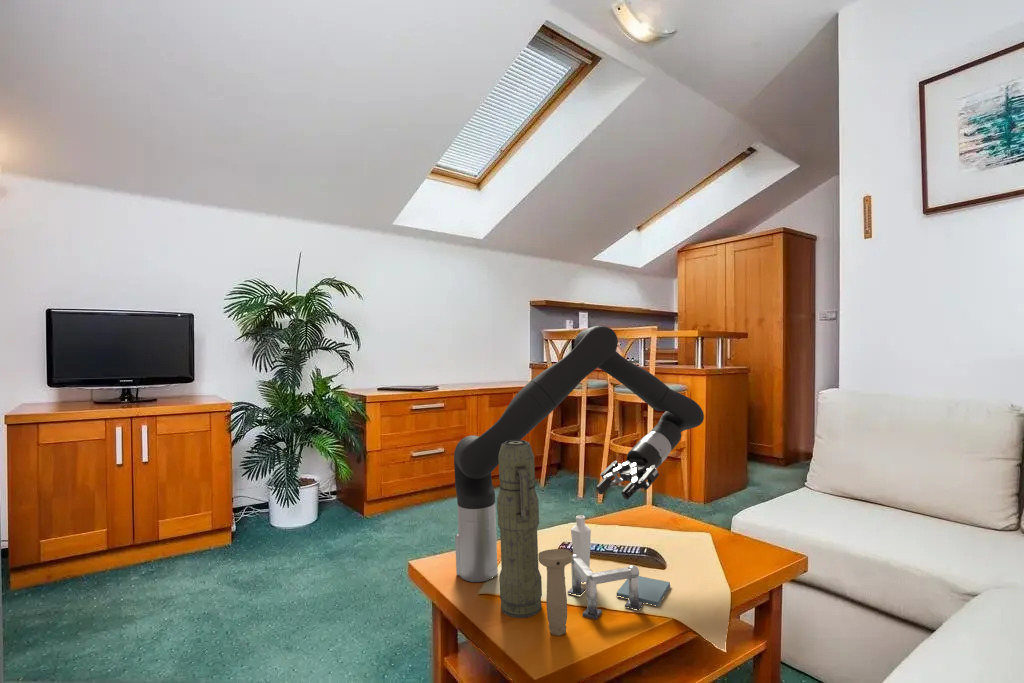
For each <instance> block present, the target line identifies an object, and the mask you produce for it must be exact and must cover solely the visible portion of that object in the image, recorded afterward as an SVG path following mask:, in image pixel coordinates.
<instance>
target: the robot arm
mask: <svg viewBox="0 0 1024 683" xmlns="http://www.w3.org/2000/svg"><path fill="white" fill-rule="evenodd" d="M618 342H619V340H618V335H617V334H616V332H615V330H613V329H612V328H611V327H608V326H604V325H595V326H591V327H587V328H585V329H583V330H581V331H580V332H579V333H578V334H577V335H576V337H575V339H574V348H572V349H571V351H570V352H569V353H568V354H566V355H565V356H564V357H563V358H561V359H560V360H559V361H557V362H555V363H554V364H552V365H551V366H549V367H548V368H546V369H545V370H543V371H541V372H540V373H539V374H537V375H536V376H535V377H534V378H532V379H531V380H530V381H529V382H528V383H527V384H526V385H525V386H523V387H522V388H521V389H520V390H519V391H518V392H517V393H516V394H515V395H514V397H513V398H512V399H511V401H510V403H509V404H508V405H507V407H506V409H505V410H504V412H503V413H502V415H501V416H500V418H499V419H498V420H497V421H496V422H495V423H494V424H493V425H492V426H490V427H489V428H488V429H487V430H485V432H483V433H482V434H481V435H480V436H479V435H468V436H464V437H463V438H462V439H460V440H459V442H458V443H457V444H456V446H455V449H454V454H453V464H454V465H453V466H454V468H453V469H454V486H455V488H454V489H455V492H456V500H457V501H456V502H457V526H458V527H457V528H458V533H457V534H456V535H455V537H454V538H455V539H454V541H455V568H456V570H455V573H456V575H457V576H459V577H460V578H461V579H462V580H464V581H466V582H471V583H480V582H481V583H482V582H487V581H490V580H491V579H490V578H492V577H494V576H495V575H496V576H497V575H498V573H499V571H498V570H499V569H498V546H497V544H498V543H497V542H498V541H497V537H498V536H497V518H496V517H497V516H496V514H497V512H496V511H497V510H496V509H497V508H496V492H495V488H494V485H493V479H492V472H493V471H494V470H495V469H496V468H497V466H499V459H498V456H499V452H500V448H501V445H502V444H503V443H505V442H506V441H510V440H523V438H525V437H526V436H527V435H528V434H529V433H531V431H532V430H534V429H535V428H536V427H537V426H538V425H539V424H540V423H541V422H542V421H543V420H544V419H546V418H547V417H548V416H549V415H550V414H551V413H553V411H554V410H555V409H556V408H557V407H558V406H559V405H560V404H561V403H562V402H563V401H564V400H565V399H566V398H567V397H568V396H569V395H570V394H571V393H572V392H573V391H575V389H576V387H578V386H579V384H580V383H581V382H582V381H583V380H584V379H585V378H586V377H587V376H589V375H590V374H591V373H593V371H595V370H596V369H597V368H598V369H599V370H601V371H603V372H604V373H606V374H607V375H609V376H611V377H612V378H614V379H615V380H616V381H618V382H619V383H620V384H622V385H623V386H624V387H625V388H627V389H628V390H629V391H631V392H632V393H633V394H634V395H635V396H636V397H638V398H640V400H641V401H643V402H644V403H645V404H647V405H648V406H649V407H650V408H652V409H653V410H655V411H657V412H664V413H663V414H662V415H661V417H660V419H659V420H658V422H657V424H656V425H655V426H654V427H653V428H652V429H651V430H650V431H649V432H648V433H647V434H646V435H644V436H642V438H641V439H640V440H639V441H638V442H637V443H635V445H634V446H633V447H632V448H631V449H630V450H629V451H628V452H627V455H626V459H625V460H624V461H623V462H622V463H618V461H617V460H614V461H612V462H611V463H610V465H608V466H606V468H605V469H604V470H602V472H601V473H600V474H599V475H600V477H601V478H602V480H601V481H600V482H599V483H598V484H597V485H596V487H595V488H596V491H597V492H598V493H597V494H598V495H603V494H604V493H605V492H606V491H608V489H609V488H610V487H611V486H612V485H614V484H616V483H617V484H620V483H622V482H629V483H628V484H627V485H626V486H625V487H624V488H623V490H621V495H622V498H623V499H624V500H627V501H628V500H629V499H630V498H632V497H633V495H634V494H635V493H636V492H637V491H640V490H641V489H643V490H648V489H649V488H650V487H651V486H652V484H654V482H655V480H656V479H657V478H658V477H659V476H660V474H659V471H658V468H659V467H660V466H661V465H662V464H663V462H664V461H665V460H666V459H667V458H668V457H669V455H670V453H671V452H672V451H673V450H674V449H675V447H677V445H678V444H680V441H681V439H682V432H684V431H686V430H691V429H693V428H696V427H700V425H702V424H703V422H704V419H705V414H704V410H703V409H702V407H701V406H700V405H699V404H698V403H697V402H696V401H695V400H694V399H692V398H691V397H689V396H687V395H684V394H683V393H680V392H678V391H676V390H674V389H671V388H670V387H669V386H668V385H667V384H665V383H664V382H663V381H662V380H660V379H659V378H658V377H657V376H656V375H654V374H652V373H651V372H649V371H648V370H646V369H644V368H642V367H641V366H638V365H637V364H635V363H633V362H632V361H631V360H628V358H625V357H624V356H622V355H621V354H620V353H619V352H618V351H617V350H618V345H619V344H618ZM618 474H619V476H620V477H619V476H618ZM497 572H498V573H497ZM496 576H495V577H496ZM495 577H494V578H495ZM489 579H490V580H489ZM492 579H493V578H492Z"/></svg>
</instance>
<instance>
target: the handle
mask: <svg viewBox="0 0 1024 683" xmlns="http://www.w3.org/2000/svg"><path fill="white" fill-rule="evenodd" d="M572 555H573V552H571V551H570V550H569V549H563V548H562V549H561V548H552V549H546V550H542V551H539V552H538V563H539V564H540V565H542V566H544V567H546V601H545V602H546V604H545V605H546V615H547V621H548V628H549V632H550V634H551V635H555V636H557V637H561V636H562V635H564V634H566V632H567V621H568V620H567V619H568V597H567V588H566V587H567V586H566V577H565V576H566V575H565V567H566V566H567V565H569V564H571V561H572Z"/></svg>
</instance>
